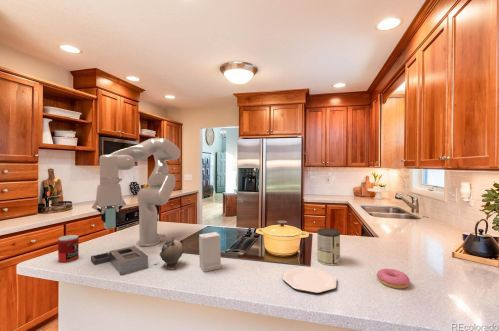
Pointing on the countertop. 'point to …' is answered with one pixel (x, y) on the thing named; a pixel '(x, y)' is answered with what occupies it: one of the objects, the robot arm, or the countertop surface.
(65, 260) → the canned food
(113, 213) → the plug
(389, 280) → the doughnut
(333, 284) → the plate
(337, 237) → the coffee can
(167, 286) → the countertop surface
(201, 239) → the skincare box
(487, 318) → the countertop surface
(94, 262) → the tray
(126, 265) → the port panel
